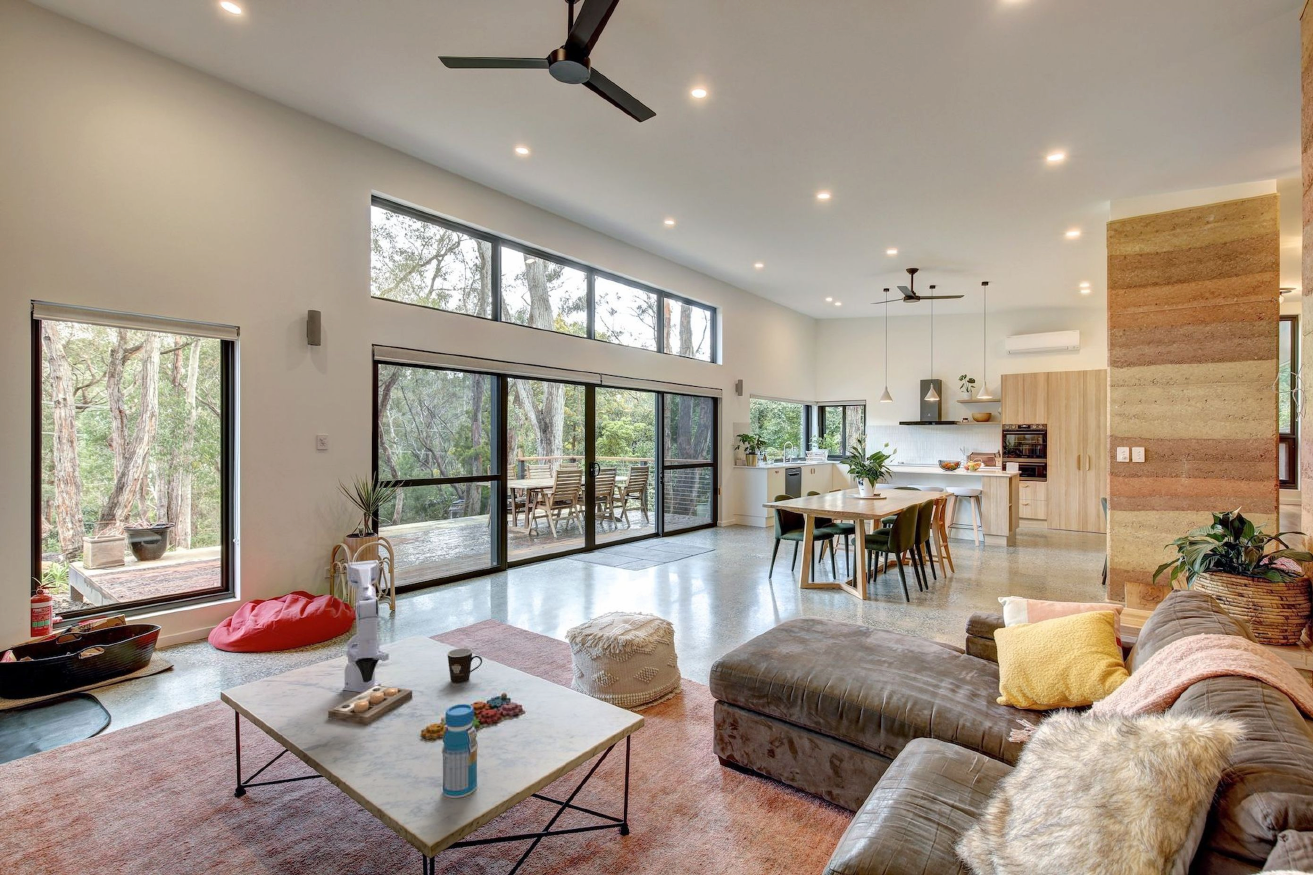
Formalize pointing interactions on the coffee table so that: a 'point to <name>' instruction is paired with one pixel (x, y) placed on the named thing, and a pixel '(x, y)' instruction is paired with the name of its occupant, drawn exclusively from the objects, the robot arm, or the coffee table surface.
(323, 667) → the coffee table surface
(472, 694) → the coffee table surface
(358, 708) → the button
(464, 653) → the coffee mug
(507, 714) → the gear puzzle
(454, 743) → the beverage bottle
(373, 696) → the button
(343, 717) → the button board
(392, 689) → the button
